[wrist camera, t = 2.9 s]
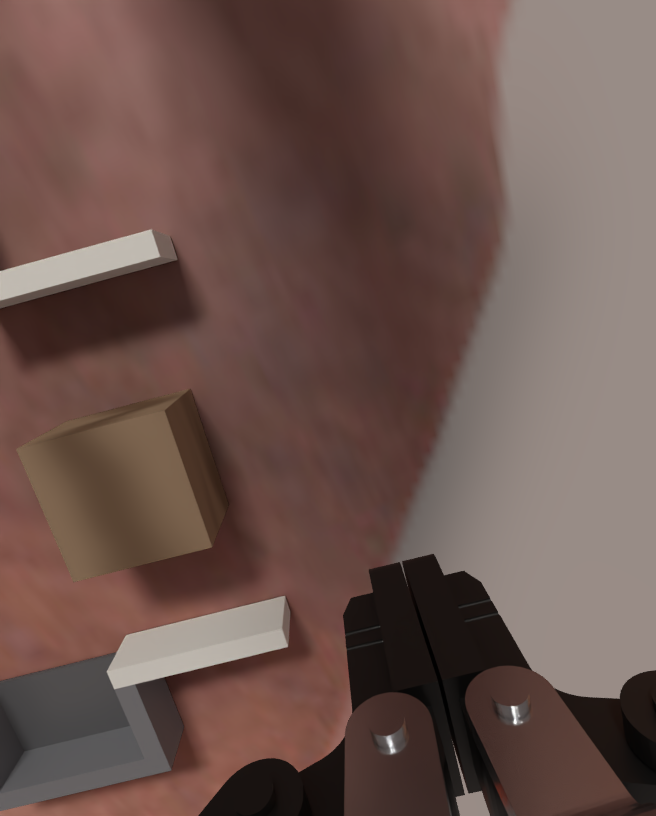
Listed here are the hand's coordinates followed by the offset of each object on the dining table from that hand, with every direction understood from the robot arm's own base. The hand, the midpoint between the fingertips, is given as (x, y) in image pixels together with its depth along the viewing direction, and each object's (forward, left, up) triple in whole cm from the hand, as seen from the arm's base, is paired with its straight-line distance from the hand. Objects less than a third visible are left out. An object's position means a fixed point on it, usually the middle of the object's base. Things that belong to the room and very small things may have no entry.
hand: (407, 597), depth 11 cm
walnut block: (+12, 0, -17) cm, 21 cm away
